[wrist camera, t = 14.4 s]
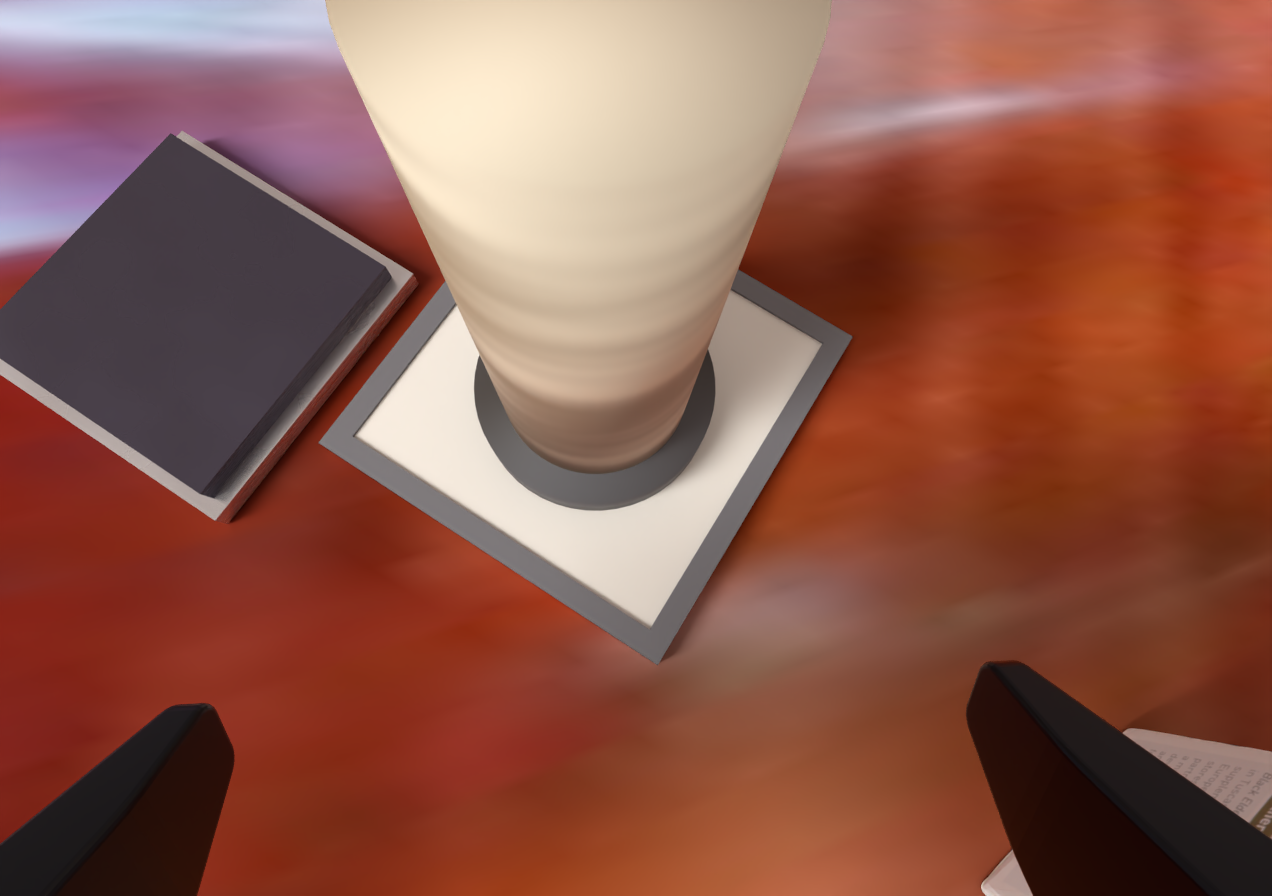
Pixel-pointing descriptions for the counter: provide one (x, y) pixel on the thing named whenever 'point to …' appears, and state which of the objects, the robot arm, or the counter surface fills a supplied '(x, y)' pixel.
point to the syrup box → (1231, 774)
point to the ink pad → (198, 323)
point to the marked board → (581, 539)
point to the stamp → (586, 205)
